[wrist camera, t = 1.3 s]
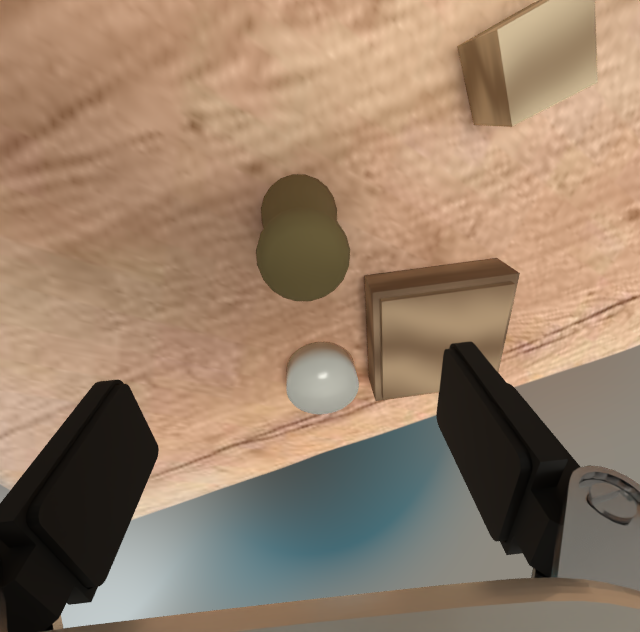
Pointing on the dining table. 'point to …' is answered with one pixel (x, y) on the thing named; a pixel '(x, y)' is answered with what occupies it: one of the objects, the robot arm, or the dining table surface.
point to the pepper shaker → (301, 240)
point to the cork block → (530, 61)
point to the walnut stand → (433, 321)
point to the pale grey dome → (321, 378)
